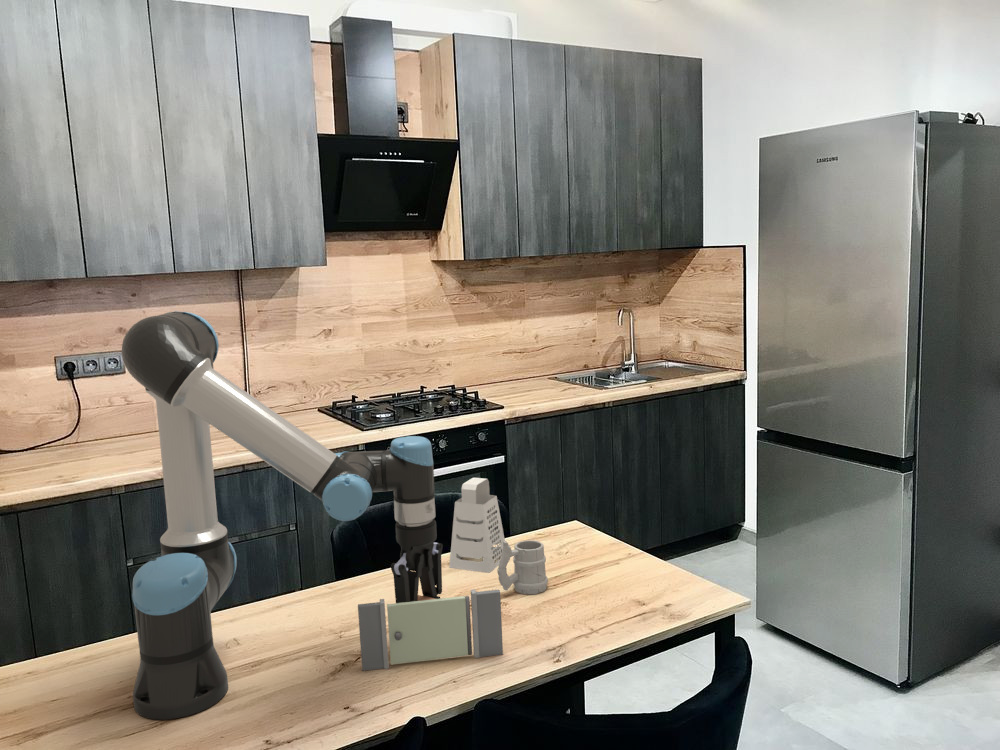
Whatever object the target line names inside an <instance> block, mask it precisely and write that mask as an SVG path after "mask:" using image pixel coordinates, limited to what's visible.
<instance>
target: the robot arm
mask: <svg viewBox="0 0 1000 750" xmlns="http://www.w3.org/2000/svg"><path fill="white" fill-rule="evenodd" d="M219 343H220V342H219V338H218V334H217V332H216V331H215V329H214V327H213V326H212V325H211V323H209V321H207V320H206V319H205V318H204V317H202V316H200V315H199V314H196V313H193V312H187V311H178V310H177V311H169V312H166V313H162V314H159V315H152V316H147V317H145V318H142V319H140V320H138V321H137V322H136V323H134V324H132V326H131V327H130V328H129V329H128V331H127V332H126V333H125V336H124V338H123V341H122V344H121V356H122V357H121V358H122V362H123V365H124V367H125V368H126V370H127V372H128V373H129V374H130V375H131V377H132V378H134V380H135V381H137V382H138V383H139V384H140V385H141V386H142V387H144V388H145V392H146V393H147V394H148V395H150V396H151V397H152V398H153V399H154V400H155V404H156V405H155V406H156V416H157V425H158V427H157V428H158V434H159V435H158V436H159V446H160V456H161V457H160V458H161V466H162V477H163V489H164V499H165V507H166V508H165V509H166V519H167V529H166V531H165V532H164V533H163V534H162V535H161V537H160V538H159V541H160V549H161V551H160V553H161V556H158V557H156V558H155V559H154V560H149V561H147V562H146V563H144V564H142V566H141V567H140V568H139V569H138V570H137V571H136V572H135V573H134V576H133V579H132V591H131V592H132V594H131V598H132V602H133V609H134V615H135V625H136V633H137V641H138V648H139V658H140V662H139V666H138V671H137V675H136V679H135V682H134V687H133V692H132V701H133V708H134V710H135V712H136V713H137V714H138V715H139V716H140V717H143V718H146V719H150V720H162V721H163V720H173V719H179V718H184V717H188V716H192V715H195V714H198V713H201V712H203V711H204V710H207V709H208V708H210V707H213V706H214V705H215V704H217V703H218V702H219V701H220V700H222V699H223V698H224V696H226V694H227V692H228V690H229V680H228V674H227V673H228V672H227V670H226V668H225V666H224V664H223V661H222V660H221V658H220V655H219V654H218V651H217V649H216V648H215V645H214V638H213V627H212V616H211V615H212V614H211V613H212V610H213V609H214V607H215V605H216V604H217V603H218V601H220V598H221V597H222V596H223V594H224V593H225V592H226V591H227V589H229V587H230V585H231V584H232V582H233V580H234V577H235V575H236V570H237V567H238V566H237V564H238V561H237V560H238V559H237V554H236V551H235V547H234V546H233V545H232V543H231V542H230V541H229V537H228V529H227V527H226V526H225V525H224V524H222V523H220V522H219V519H218V509H217V499H216V488H215V487H216V486H215V474H214V473H215V472H214V463H213V451H212V439H211V437H212V436H211V428H210V427H211V426H212V427H213V428H215V429H216V430H218V431H220V432H221V433H223V434H224V435H225V436H226V437H228V438H230V439H231V440H233V441H234V442H236V443H237V444H239V445H240V446H241V447H243V448H245V450H247V451H249V452H250V453H252V454H253V455H254V456H256V457H258V458H259V459H260V460H262V461H264V462H265V463H266V464H268V465H269V466H271V467H272V468H274V469H275V470H277V471H278V472H279V473H281V474H282V475H284V476H286V477H287V478H288V479H290V480H291V481H293V482H294V483H296V484H297V485H299V486H300V487H302V488H303V489H304V490H306V491H308V493H311V495H314V497H316V498H318V499H319V500H320V501H322V505H323V507H324V510H325V511H326V512H327V514H328V515H329V516H330V517H331V518H333V519H335V520H337V521H341V522H349V521H354V520H356V519H358V518H359V517H361V516H362V515H363V514H364V513H365V512H366V510H367V509H368V507H369V506H370V505H371V501H372V498H373V493H379V492H380V493H381V492H384V493H385V492H393V507H394V508H393V511H394V513H393V514H394V520H395V522H396V523H395V525H394V526H395V540H396V543H397V544H399V546H400V549H401V550H400V552H399V553H400V554H399V558H400V559H399V560H398V561H397V562H396V563H395V562H392V563H391V564H390V569H391V573H392V575H393V585H394V597H395V603H403V602H413V601H418V595H419V585H420V587H421V592H422V596H425V597H430V598H435V599H441V596H439V595H441V594H442V593H443V576H442V575H443V574H442V573H443V571H442V553H443V546H444V544H443V543H439V542H435V541H436V540H437V538H438V537H437V536H438V535H437V533H438V532H437V521H436V520H435V518H436V504H435V474H434V472H435V470H434V459H433V447H432V443H431V441H430V440H429V439H428V438H427V437H424V436H419V435H417V436H416V435H411V436H410V435H407V436H403V437H402V436H400V437H397V438H396V437H395V438H394V439H392V441H391V443H390V446H389V449H386V450H369V451H348V450H347V451H342V452H333V451H332V450H330V449H329V448H327V447H326V446H325V445H323V444H321V442H319V441H317V440H316V439H315V438H313V437H311V436H310V435H309V434H307V433H306V432H304V431H303V430H301V429H300V428H298V427H297V426H296V425H294V424H293V423H291V422H290V421H288V420H287V419H286V418H284V417H283V416H281V415H280V414H278V413H277V412H276V411H274V410H273V409H271V408H270V407H269V406H267V405H266V404H264V403H263V402H261V401H260V400H259V399H257V398H256V397H254V396H253V395H251V394H250V393H248V392H247V391H246V390H244V389H242V388H241V387H240V386H238V384H236V383H234V382H232V380H231V379H228V378H227V377H225V376H224V375H223V374H222V373H220V372H218V371H217V370H215V367H214V362H215V361H216V359H217V357H218V352H219V348H220V347H219V345H220V344H219Z"/></svg>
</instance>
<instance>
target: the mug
mask: <svg viewBox="0 0 1000 750" xmlns="http://www.w3.org/2000/svg"><path fill="white" fill-rule="evenodd" d="M513 547H514V549H512V548H511V545H510V544H509V542H507V541H503V551H502V555H501V559H500V558H499V560H500V563H499V565H498V566H497V568H496V569H497V570H496V571H497V575H498V582H499V584H500V586H501V587H502V589H503V591H508V590H509V589H510V588H511V586H512V585H513V586H514V590H515V591H516V592H517V593H518V594H522V595H530V596H531V595H537V594H540V593H543V592H545V591H546V590H547V585H548V583H549V579H548V577H547V573H546V560H547V557H546V555H545V547H544V543H542V542H540V541H538V540H535V539H534V540H533V539H531V540H530V539H528V540H527V539H526V540H521V541H519V542H516V543H515V544H514V546H513ZM512 557H513V558H512ZM511 558H512V559H513V560H512V561H513V565H514V566H513V567H514V572H513V573H512V574H511V575H509V574H508V571H507V566H508V563H509V562H510V560H511Z"/></svg>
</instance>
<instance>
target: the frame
mask: <svg viewBox="0 0 1000 750" xmlns="http://www.w3.org/2000/svg"><path fill="white" fill-rule="evenodd" d="M501 599H502V597H501V591H500V589H492V590H483V591H482V590H481V591H476V589H470V601H471V602H470V603H471V605H470V607H471V621H472V622H471V623H472V624H471V628H472V643H473V644H472V648H473V656H474V659H480V658H482V657H492V656H499V655H504V649H503V648H504V647H503V624H502V623H503V622H502V604H501V603H502V600H501ZM385 602H386V601H385V598H379V601H378V602H377V601H376V602H368V603H358V604H357V612H358V614H357V615H358V628H359V629H358V630H359V643H360V659H361V670H362V671H363V672H366V671H373V670H379V669H380V670H381V669H384V670H388V669H390V666H389V665H390V664H389V653H388V652H389V651H388V649H389V648H388V636H387V635H388V634H387V621H386V617H387V616H386V606H385V605H386V604H385Z"/></svg>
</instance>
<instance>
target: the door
mask: <svg viewBox="0 0 1000 750" xmlns="http://www.w3.org/2000/svg"><path fill="white" fill-rule="evenodd" d="M470 601H471V598H470V595H466V596H464V595H461V596H453V597H443V598H441V597H440V599H432V600H422V601H413V602H403V603H396V602H395V603H387V604H386V610H387V611H386V613H387V623H388V624H387V625H388V627H387V629H388V641H389V654H390V657H389V658H390V665H398V664H399V665H400V664H406V663H407V664H408V663H415V662H417V663H418V662H424V661H433V660H440V659H441V660H442V659H451V658H459V657H466V656H467V657H468V656H472V654H473V644H472V643H473V639H472V624H471V623H472V622H471V621H472V619H471V605H470V603H471V602H470Z"/></svg>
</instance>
